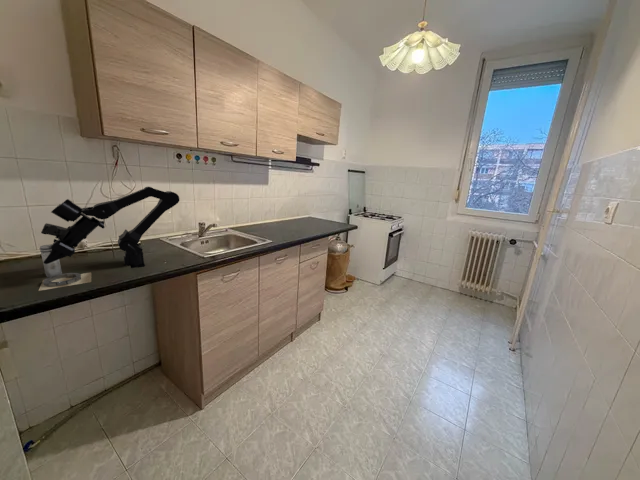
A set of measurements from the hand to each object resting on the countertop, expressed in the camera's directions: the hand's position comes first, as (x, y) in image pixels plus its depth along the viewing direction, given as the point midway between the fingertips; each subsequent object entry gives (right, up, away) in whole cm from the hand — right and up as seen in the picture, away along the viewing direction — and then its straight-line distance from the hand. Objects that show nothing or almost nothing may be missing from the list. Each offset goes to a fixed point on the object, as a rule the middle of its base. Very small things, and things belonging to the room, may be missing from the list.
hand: (45, 261), depth 93 cm
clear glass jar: (+1, -6, +3) cm, 7 cm away
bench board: (+10, -8, -2) cm, 13 cm away
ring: (+9, -7, -2) cm, 11 cm away
